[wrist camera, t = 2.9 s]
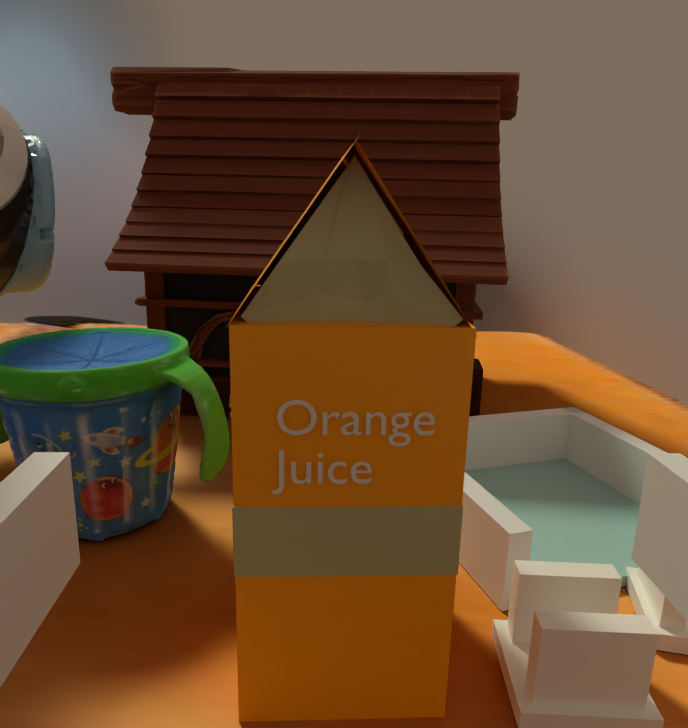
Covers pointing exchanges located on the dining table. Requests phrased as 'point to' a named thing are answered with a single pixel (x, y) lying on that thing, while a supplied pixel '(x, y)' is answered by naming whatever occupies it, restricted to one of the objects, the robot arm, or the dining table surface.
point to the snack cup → (109, 417)
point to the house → (301, 182)
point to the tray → (548, 494)
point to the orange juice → (347, 464)
